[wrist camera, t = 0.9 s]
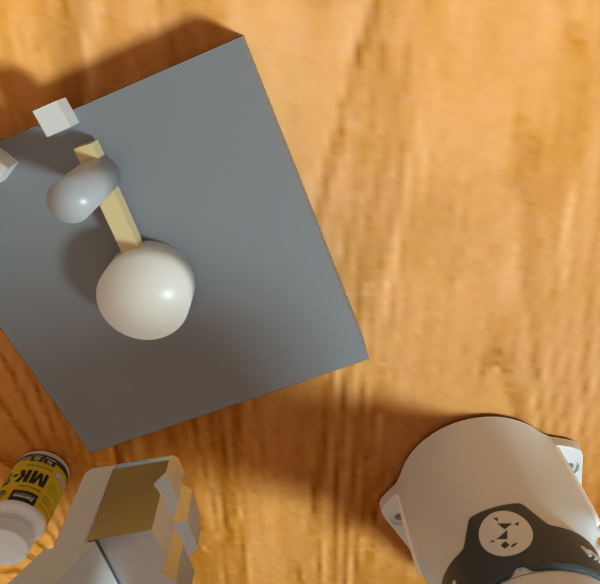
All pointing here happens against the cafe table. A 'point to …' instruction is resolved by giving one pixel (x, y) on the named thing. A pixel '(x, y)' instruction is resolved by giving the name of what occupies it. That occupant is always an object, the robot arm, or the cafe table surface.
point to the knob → (125, 252)
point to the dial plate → (183, 237)
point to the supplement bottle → (29, 502)
